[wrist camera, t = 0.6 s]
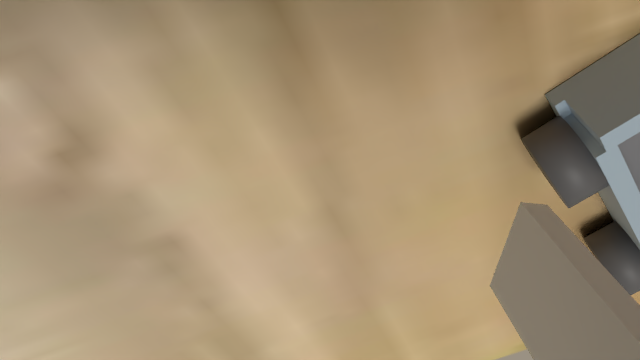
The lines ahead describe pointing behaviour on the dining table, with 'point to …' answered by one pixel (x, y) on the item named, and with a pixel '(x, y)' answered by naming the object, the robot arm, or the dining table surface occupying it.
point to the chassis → (599, 153)
